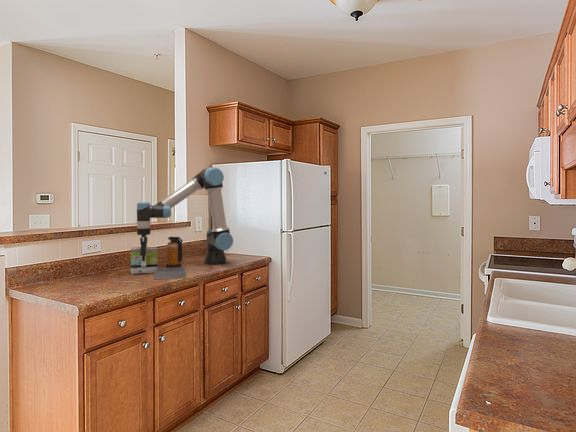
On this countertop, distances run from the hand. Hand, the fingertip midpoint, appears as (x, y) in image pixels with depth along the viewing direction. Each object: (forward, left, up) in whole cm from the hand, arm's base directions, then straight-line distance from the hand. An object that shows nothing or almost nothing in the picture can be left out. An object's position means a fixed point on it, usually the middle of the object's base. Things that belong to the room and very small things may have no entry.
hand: (144, 264), depth 237 cm
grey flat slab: (-15, +16, -4) cm, 23 cm away
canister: (-18, -12, -5) cm, 22 cm away
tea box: (0, 0, -5) cm, 5 cm away
